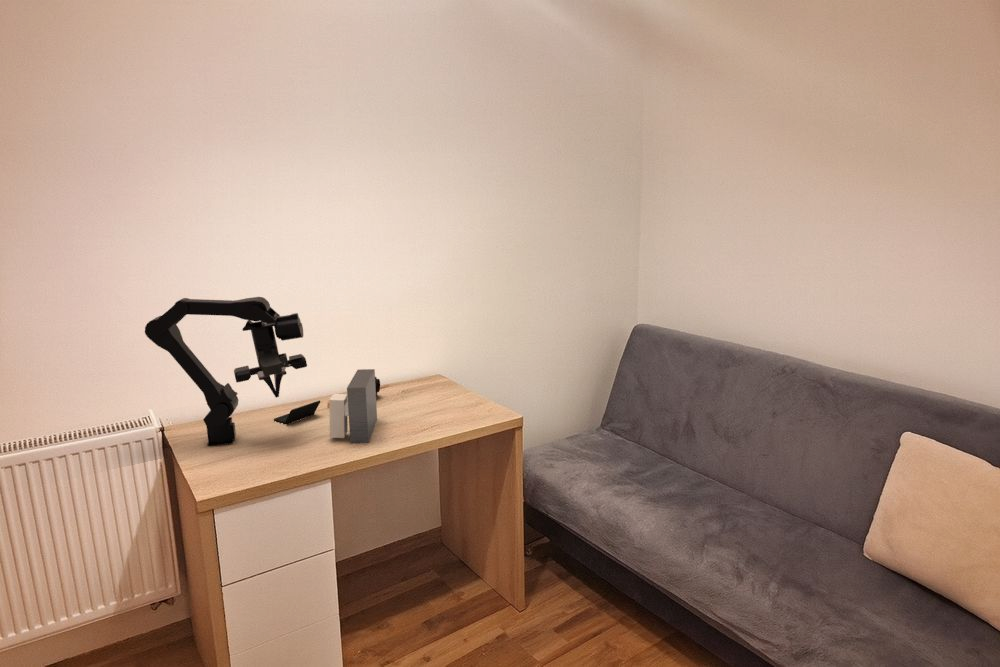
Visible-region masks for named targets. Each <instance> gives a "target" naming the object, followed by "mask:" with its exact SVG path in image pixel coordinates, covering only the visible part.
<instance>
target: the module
mask: <svg viewBox="0 0 1000 667" xmlns="http://www.w3.org/2000/svg"><path fill="white" fill-rule="evenodd" d="M347 400H348V397H347V394H345V393H344V394H342V393H341V394H340V393H339V394H336V393H333V394H332V395H331V397H330V398H329V400H328V401H327V409H329V411H328V412H329V438H330V439H332V438H333V439H345V437H346V435H347V434H348V429H349V428H348V425H349V421H348V416H345V409H344V405H345V403H346V402H347Z"/></svg>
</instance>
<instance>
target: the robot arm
mask: <svg viewBox="0 0 1000 667" xmlns="http://www.w3.org/2000/svg"><path fill="white" fill-rule="evenodd" d="M187 315H192V316H195V315H196V316H225V317H226V316H227V317H235V318H239V319H241V320H244V321H245V320H246V323H245V324H244V327H243V328H241V329H242V331H243V332H246V331H250V332H251V337H252V342H253V347H254V351H255V355H256V359H257V363H258V366H256V367H251V368H250V367H249V365H245V366H244V365H243V366H239V367H235V368H234V369H233V374H234V377H235V378H234V379H235V383H241V382H246V381H249V380H250V379H251V377H252V376H255V375H257V378H258V380H259V381H264V382H265V383H266V386H268V387H269V389H270V390H271V392H272V395H274V397H275V398H279V397H280V390H281V383H282V379H283V376H286V375H287V371H286V368H291V367H292V368H293V369H294V370H298V369H303V368H307V367H308V364H307V360H306V357H305V355H303V354H302V353H299V354H295V355H290V356H288V355H287V353H286V352H285V353H279V348H278V344H277V339H276V338H278V340H280V341H282V342H283V341H289V340H295V339H302V338H304V327H303V323H302V321H301V318H300V316H299V313H298V312H295V313H291V314H287V315H280V314H279V313H278V312H277V311H276V310H274V308H272V306H271V305H270V302H269V301H268V300H267V299H266V298H265V297H262V296H256V297H254V296H253V297H246V298H241V299H235V300H230V299H224V300H223V299H199V298H198V299H196V298H188V297H185V298H184V297H182V298H180V299H179V300H177V301H176V302H175V303H174V304H173V305H172V306H171V307H170V308H169V309H168V310H167V311H165V312H164V313H163V314H162V315H159V316H156V317H154V318H153V319H151V320H149V321H148V322H147V323H146V325H145V327H144V335H145V336H146V337H147V338H148V339H149V340H150V342H152V343H153V344H155V345H156V346H157V347H159V348H160V349H162V350H165V351H167V353H169V354H170V356H172V358H173V359H174V360H175V361H176V363H177V364H178V365H179V366H180V367H181V368H182V370H183V371H184V372H185V373H186V374H187V375H188V377H189V378H190V379H191V380H192V382H194V383H195V385H196V386H197V388H199V390H200V391H201V392H202V394H203V395H204V398H205V401H206V405H207V406H208V408H209V409H210V410H209V412H207V414H206V415H205V417H204V418H203V423H205V426H206V434H207V443H206V446H207V447H214V446H224V445H231V444H233V442H234V441H235V439H236V436H237V434H236V433H237V432H236V423H235V422H233V417H232V415H233V413H234V412H235V410H236V409H237V407H238V406H239V398H238V396H237V395H238V392H237V391H235V390H234V389H233V387H232V386H231V385H230V383H229V382H227V383H226V384H225V385H223V384H221V383H220V382H219V381H217V380H216V378H215V377H214V376H213V375H212V374H211V372H210V371H209V370H208V369H207V368H206V366H205V365H204V364H203V362H201V361H200V360H199V358H198V357H197V355H196V354H195V353H194V352H193V351H192V350H191V349H190V347H189V346H188V345H187V344H186V342H185V341H184V339H183V336H182V333H181V329H180V328H179V326H178V324H179V323H180V321H182V320H183V319H184V318H185V317H186V316H187ZM271 376H273V377H274V383H273V380H272V379H271Z"/></svg>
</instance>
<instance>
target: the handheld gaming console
mask: <svg viewBox="0 0 1000 667" xmlns="http://www.w3.org/2000/svg"><path fill="white" fill-rule="evenodd" d="M321 403H322V402H321V400H317V401H316V400H315V401H313V402H311V403H308V404H304V405H302V406H299V407H296V408H293V409H291V410H290V412H289V413H287V414H284V415H280V416H278V417H274V418H273V422H275V421H276V423H278V422H280V423H279V424H281V423H283V424H282V425H285V424H287V425H290V424H292V422H293V423H295V422H294V421H296V422H298V421H301V420H304V419H306V418H309V417H312V416H314V414H315V415H316V412H317V409H318V408H319V405H320V404H321ZM311 415H312V416H311ZM308 416H309V417H308ZM305 417H306V418H305ZM303 418H304V419H303ZM300 419H301V420H300ZM297 420H298V421H297ZM289 423H290V424H289Z"/></svg>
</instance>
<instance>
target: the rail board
mask: <svg viewBox="0 0 1000 667" xmlns="http://www.w3.org/2000/svg"><path fill="white" fill-rule="evenodd" d="M375 370H376V369H374V368H372V369H371V368H370V369H369V368H368V369H367V368H366V369H365V368H363V369H362V368H361V369H357V370H356V371H355V373H354V375H353V377H352V379H351V380H350V382H349V384H348V386H346V392H347V393H346V395H347V402H346V403H345V405H344V409H345V416H347V417H348V425H349V428H348V429H349V442H350V443H349V444H369V443H370V441H371V438H372V436H373V433H374V430H375V427H376V425H375V424H377V422H378V410H377V409H378V407H377V397H376V387H375V377H376V371H375Z"/></svg>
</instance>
